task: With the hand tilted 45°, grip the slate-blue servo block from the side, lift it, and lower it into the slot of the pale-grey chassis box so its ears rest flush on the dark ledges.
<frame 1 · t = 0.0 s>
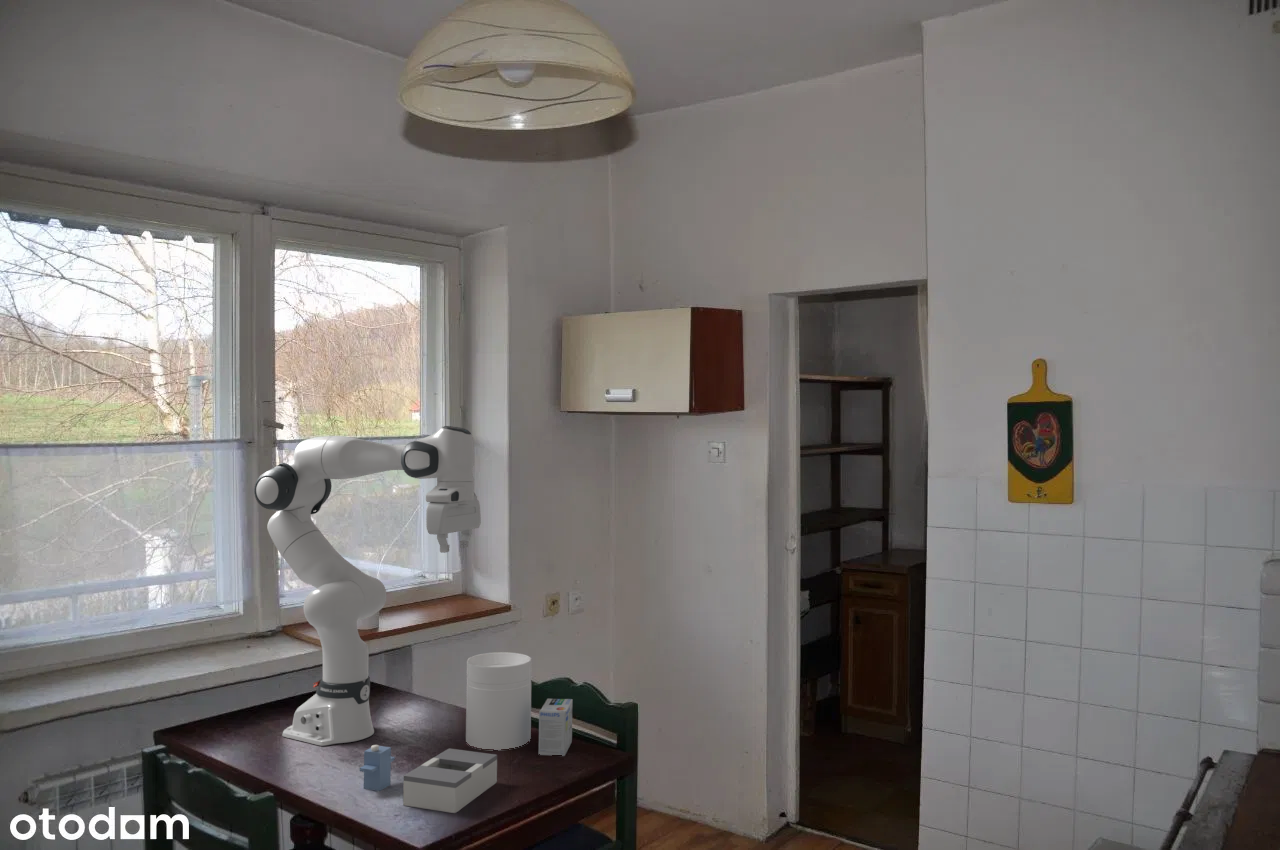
hand: (454, 550, 226), 48 cm above the table, tool pointing down, fingers open, 8 cm apart
canister: (498, 740, 233), on the table
chassis: (451, 793, 197), on the table
servo block: (377, 786, 201), on the table
light bulb box: (555, 749, 227), on the table
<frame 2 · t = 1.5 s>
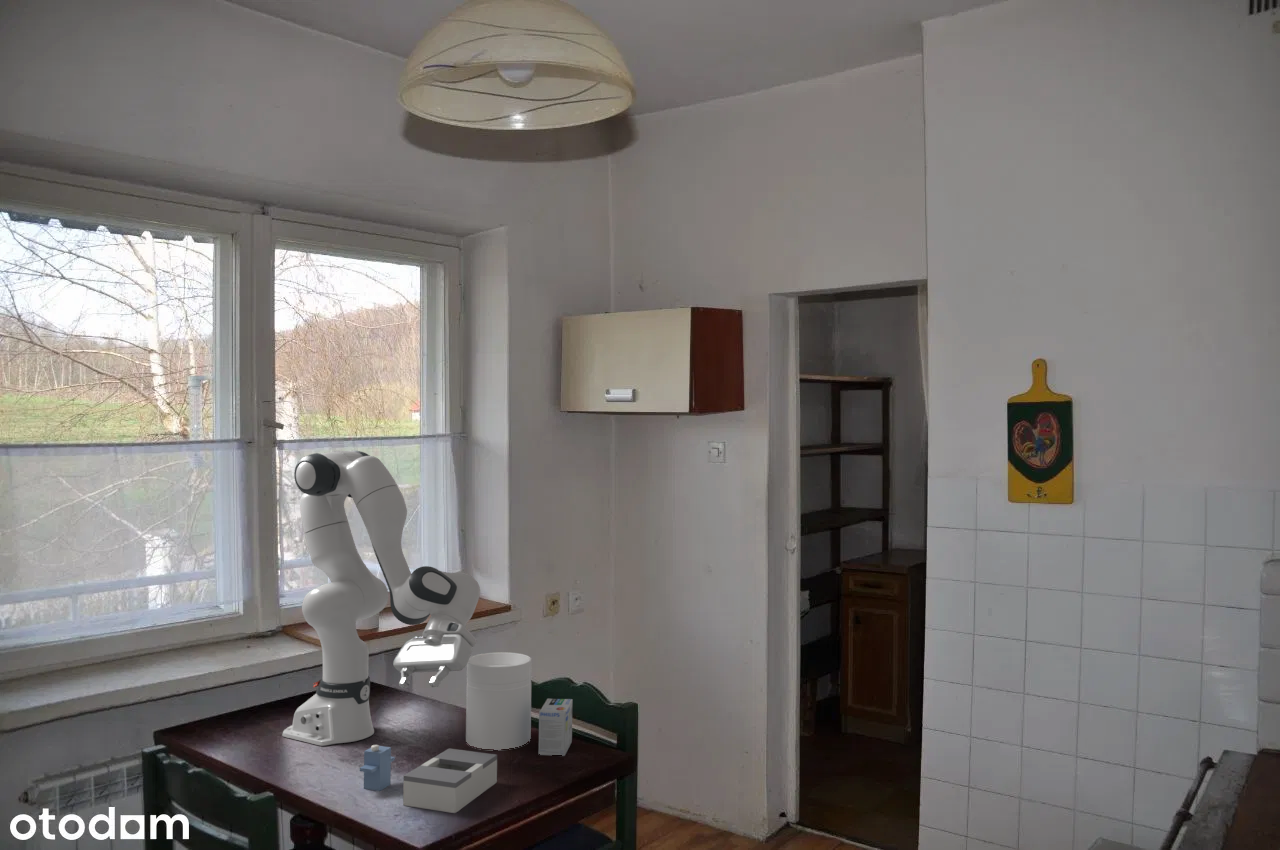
hand: (417, 686, 211), 19 cm above the table, tool tilted 45°, fingers open, 8 cm apart
nothing on the table moved.
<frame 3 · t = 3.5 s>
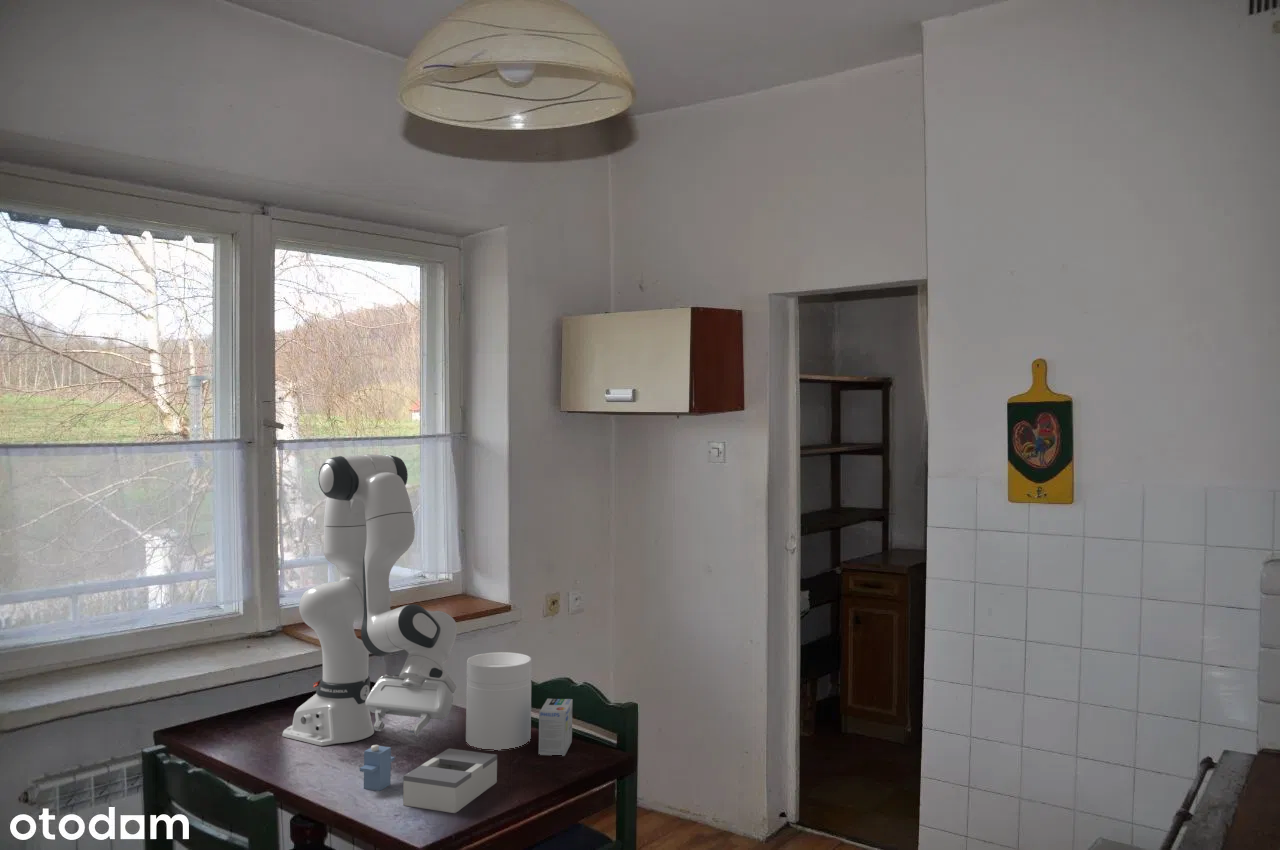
hand: (395, 731, 207), 10 cm above the table, tool tilted 45°, fingers open, 8 cm apart
nothing on the table moved.
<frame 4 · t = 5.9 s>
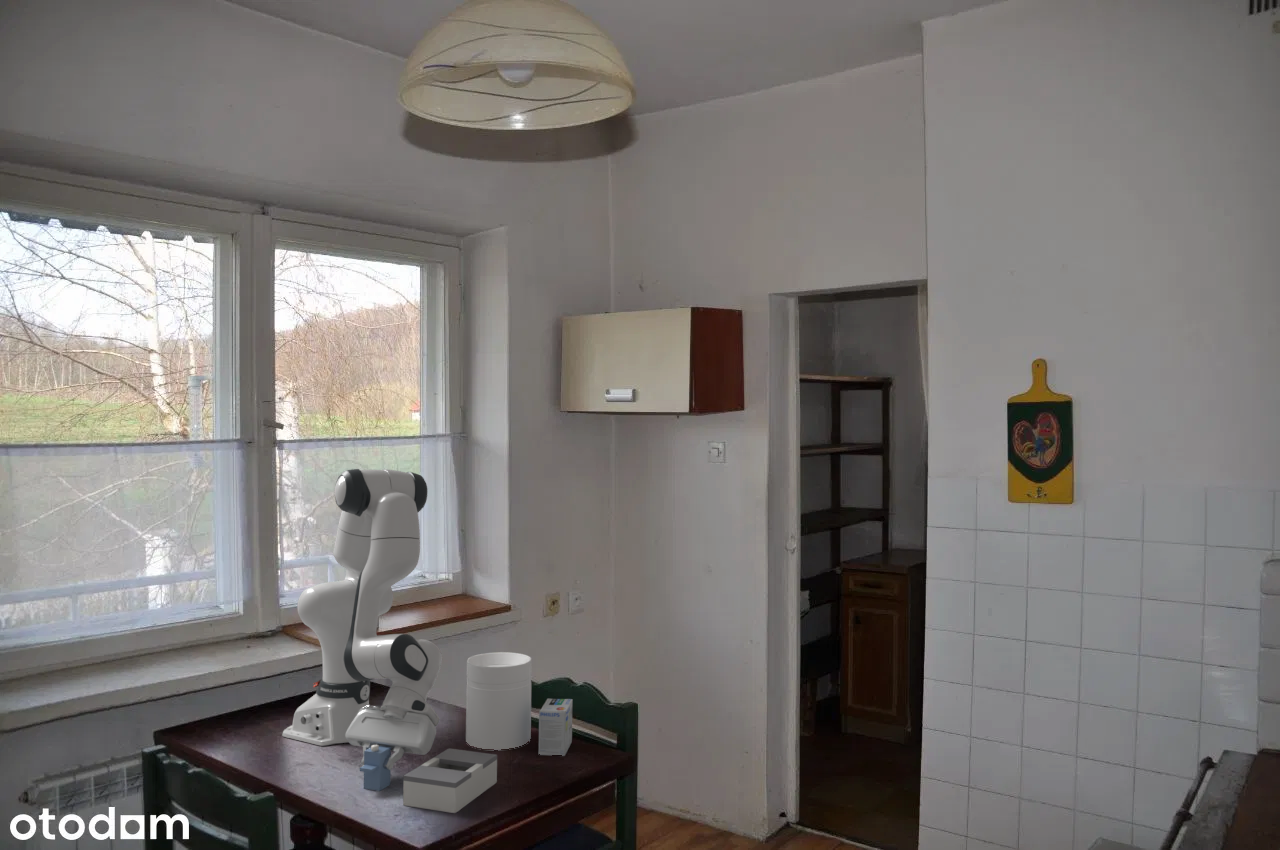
hand: (375, 766, 200), 4 cm above the table, tool tilted 45°, fingers closed on servo block, 4 cm apart
servo block: (377, 786, 201), on the table, touching gripper
everything else where it was.
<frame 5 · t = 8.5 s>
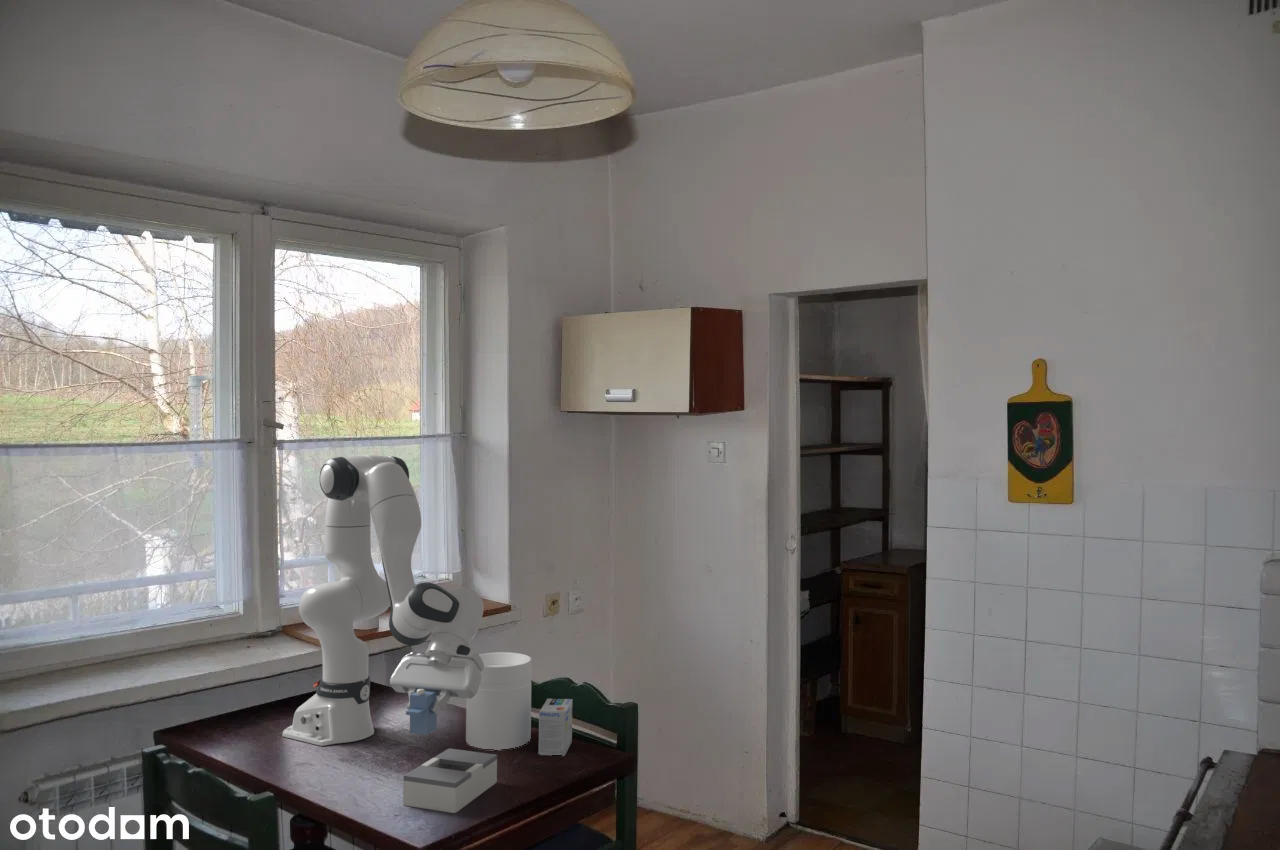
hand: (421, 711, 198), 17 cm above the table, tool tilted 45°, fingers closed on servo block, 4 cm apart
servo block: (423, 731, 198), point 13 cm above the table, touching gripper
everything else where it was.
when the fingers open (7 cm above the table, at t = 11.6 s): servo block drops 1 cm, resting on chassis.
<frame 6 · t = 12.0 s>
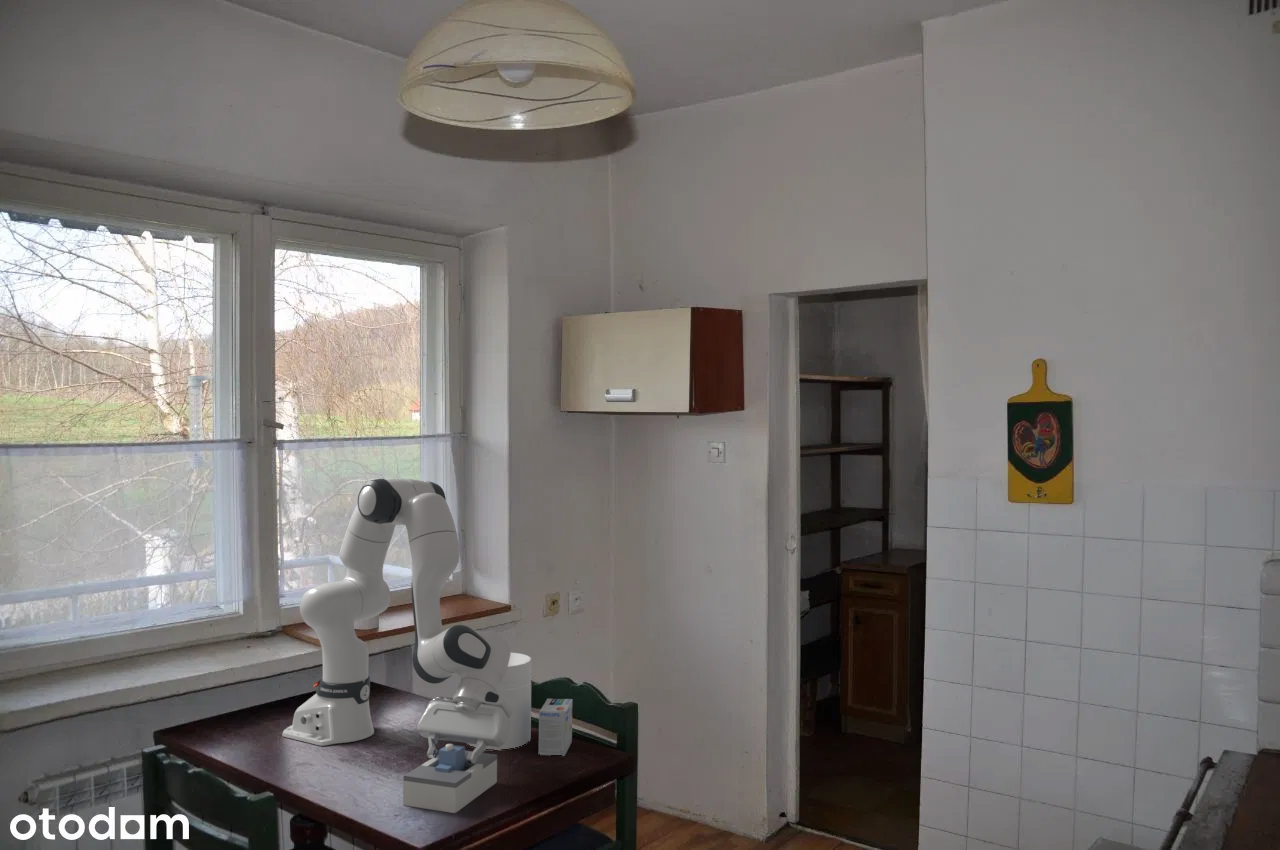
hand: (450, 759, 197), 7 cm above the table, tool tilted 45°, fingers open, 8 cm apart
servo block: (451, 786, 197), point 1 cm above the table, touching chassis
everything else where it was.
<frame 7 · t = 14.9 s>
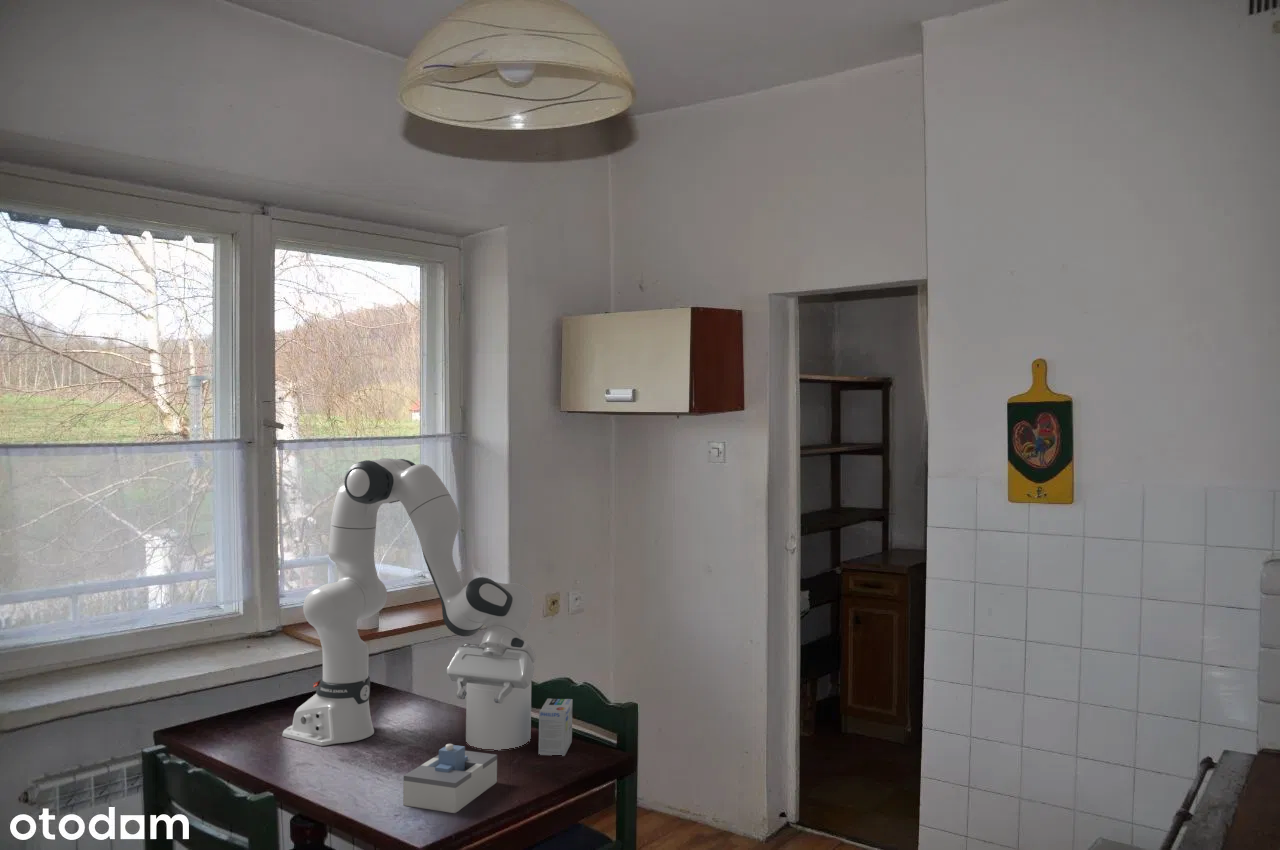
hand: (478, 699, 209), 17 cm above the table, tool tilted 45°, fingers open, 8 cm apart
nothing on the table moved.
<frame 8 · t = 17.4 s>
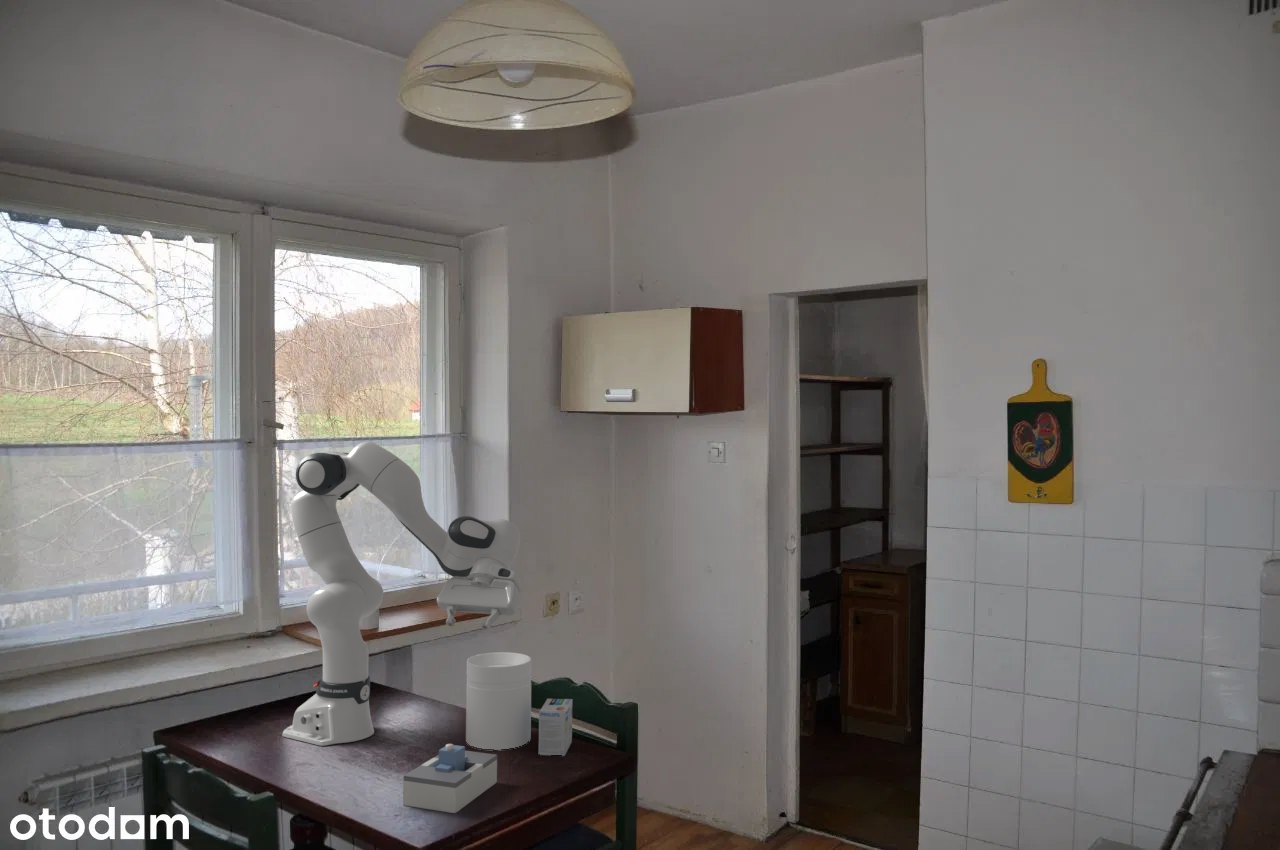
hand: (467, 626, 218), 31 cm above the table, tool tilted 45°, fingers open, 8 cm apart
nothing on the table moved.
at the end: servo block 0.1 cm off-centre on the chassis, point 1.5 cm above the chassis's base; servo block tilted 0°; the gripper is holding nothing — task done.
